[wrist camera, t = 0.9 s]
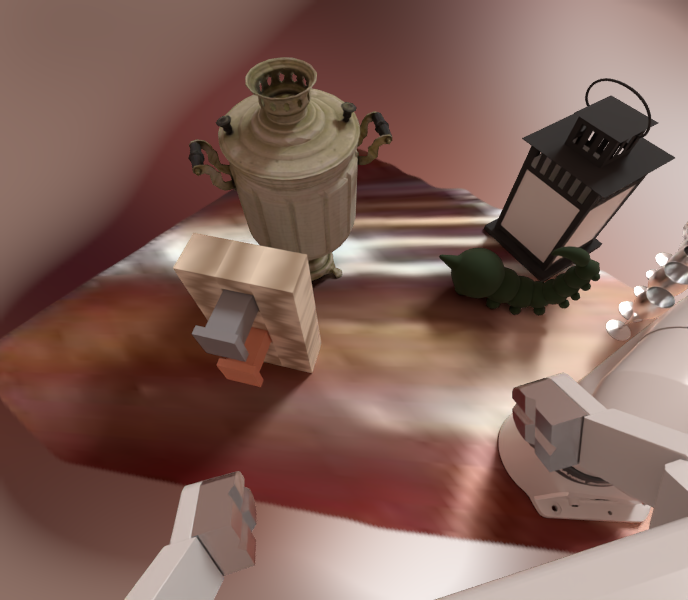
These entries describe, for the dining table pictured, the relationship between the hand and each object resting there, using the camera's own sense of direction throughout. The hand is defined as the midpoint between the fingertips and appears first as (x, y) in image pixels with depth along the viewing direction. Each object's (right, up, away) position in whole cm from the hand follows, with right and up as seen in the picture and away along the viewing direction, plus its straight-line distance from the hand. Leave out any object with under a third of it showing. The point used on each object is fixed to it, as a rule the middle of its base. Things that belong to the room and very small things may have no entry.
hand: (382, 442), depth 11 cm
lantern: (+42, +18, +75) cm, 88 cm away
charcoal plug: (-16, 0, +43) cm, 45 cm away
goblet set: (+59, +5, +67) cm, 89 cm away
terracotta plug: (-15, -5, +51) cm, 54 cm away
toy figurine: (+29, +5, +67) cm, 73 cm away
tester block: (-14, -5, +62) cm, 63 cm away
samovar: (-8, +14, +73) cm, 75 cm away
